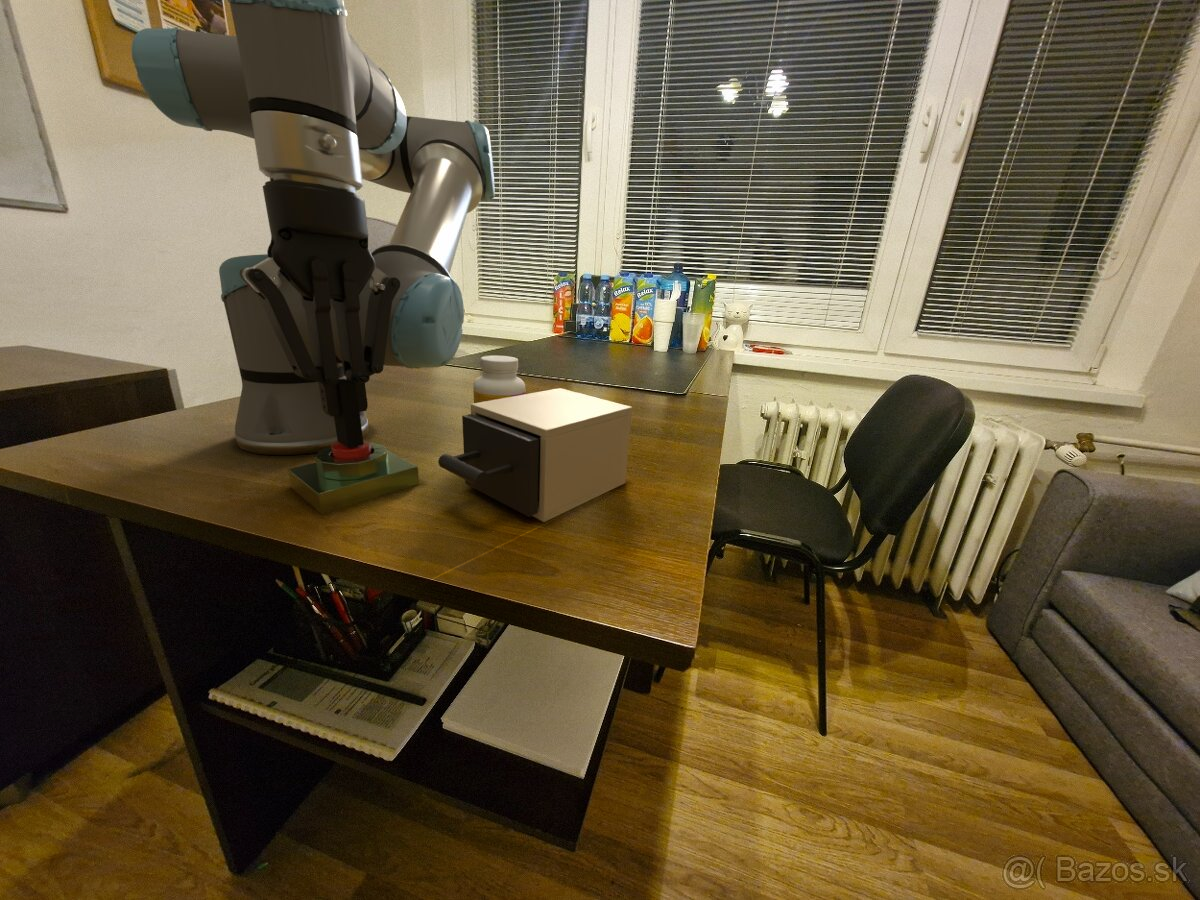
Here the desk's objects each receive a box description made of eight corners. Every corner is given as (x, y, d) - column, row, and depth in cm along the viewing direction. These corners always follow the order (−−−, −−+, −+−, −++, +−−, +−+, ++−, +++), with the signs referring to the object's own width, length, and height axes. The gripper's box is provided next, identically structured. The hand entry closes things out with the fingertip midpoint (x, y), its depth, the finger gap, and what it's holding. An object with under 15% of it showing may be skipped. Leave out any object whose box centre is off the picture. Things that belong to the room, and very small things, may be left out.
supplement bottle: (514, 464, 56) (513, 364, 52) (466, 457, 57) (462, 359, 53) (531, 447, 63) (533, 357, 58) (488, 441, 64) (486, 352, 59)
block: (291, 487, 47) (284, 452, 45) (384, 464, 54) (381, 433, 53) (321, 514, 42) (314, 476, 41) (419, 484, 49) (416, 451, 48)
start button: (328, 459, 47) (325, 444, 46) (363, 451, 49) (361, 436, 49) (342, 469, 44) (340, 453, 44) (378, 460, 47) (376, 445, 47)
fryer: (544, 522, 43) (546, 430, 40) (473, 485, 50) (470, 403, 47) (625, 483, 53) (632, 406, 50) (557, 456, 60) (559, 387, 57)
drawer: (492, 534, 39) (490, 452, 36) (428, 495, 45) (423, 423, 42) (608, 481, 51) (614, 417, 49) (546, 456, 57) (548, 398, 55)
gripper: (233, 162, 31) (292, 469, 39) (409, 198, 41) (427, 439, 49) (206, 173, 35) (264, 447, 43) (371, 203, 45) (393, 423, 53)
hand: (350, 442), depth 46 cm, fingers closed
